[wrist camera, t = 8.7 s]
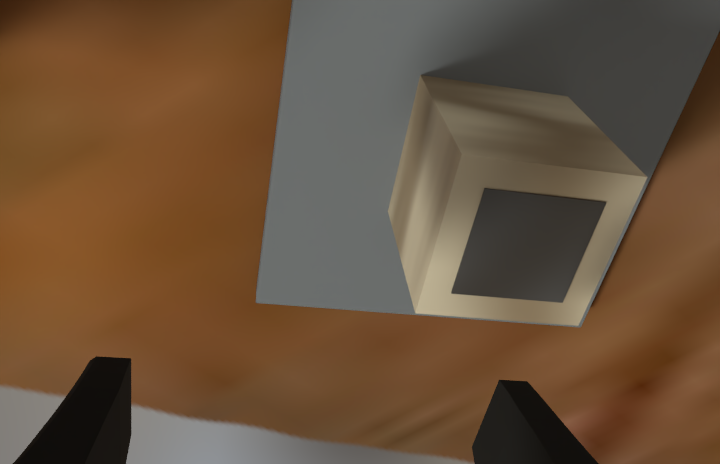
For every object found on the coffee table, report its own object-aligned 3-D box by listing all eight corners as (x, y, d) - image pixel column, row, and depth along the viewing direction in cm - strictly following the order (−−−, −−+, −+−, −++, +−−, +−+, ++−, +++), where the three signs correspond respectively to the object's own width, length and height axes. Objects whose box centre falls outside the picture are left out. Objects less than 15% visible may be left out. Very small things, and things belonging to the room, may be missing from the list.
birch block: (387, 211, 21) (415, 314, 17) (420, 74, 18) (461, 155, 14) (520, 225, 22) (579, 327, 17) (567, 96, 19) (648, 177, 15)
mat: (256, 288, 23) (255, 302, 22) (302, -86, 17) (303, -82, 16) (572, 313, 25) (580, 327, 24) (718, -9, 19) (734, -2, 18)
